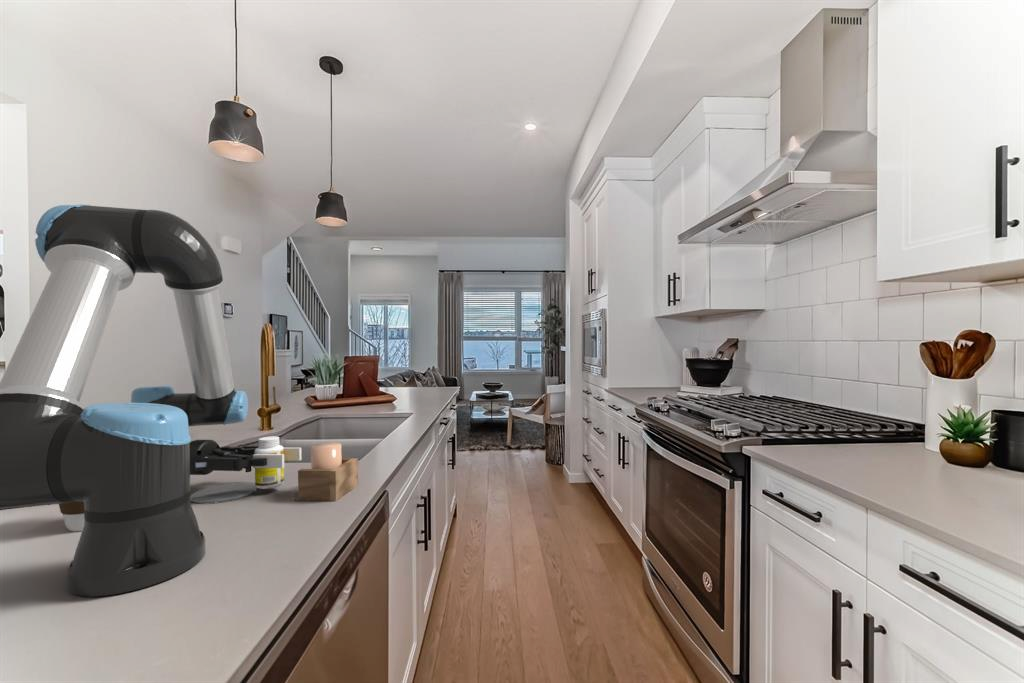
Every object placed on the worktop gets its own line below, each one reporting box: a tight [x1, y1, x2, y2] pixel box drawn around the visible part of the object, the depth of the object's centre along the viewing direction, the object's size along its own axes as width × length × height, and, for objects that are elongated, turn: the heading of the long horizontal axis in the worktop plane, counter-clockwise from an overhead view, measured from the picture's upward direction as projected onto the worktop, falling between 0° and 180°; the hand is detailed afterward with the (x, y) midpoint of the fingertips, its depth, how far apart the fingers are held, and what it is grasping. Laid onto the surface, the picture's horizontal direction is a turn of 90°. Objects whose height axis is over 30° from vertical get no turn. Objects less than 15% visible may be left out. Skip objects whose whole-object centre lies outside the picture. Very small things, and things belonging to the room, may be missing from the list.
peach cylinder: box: [310, 441, 343, 469], centre depth 96 cm, size 6×6×10 cm
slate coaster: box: [190, 482, 258, 504], centre depth 96 cm, size 12×12×1 cm
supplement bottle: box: [254, 435, 285, 490], centre depth 98 cm, size 6×6×10 cm
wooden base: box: [293, 457, 359, 502], centre depth 96 cm, size 10×9×6 cm
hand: (291, 457), depth 97 cm, fingers closed on supplement bottle, 6 cm apart
